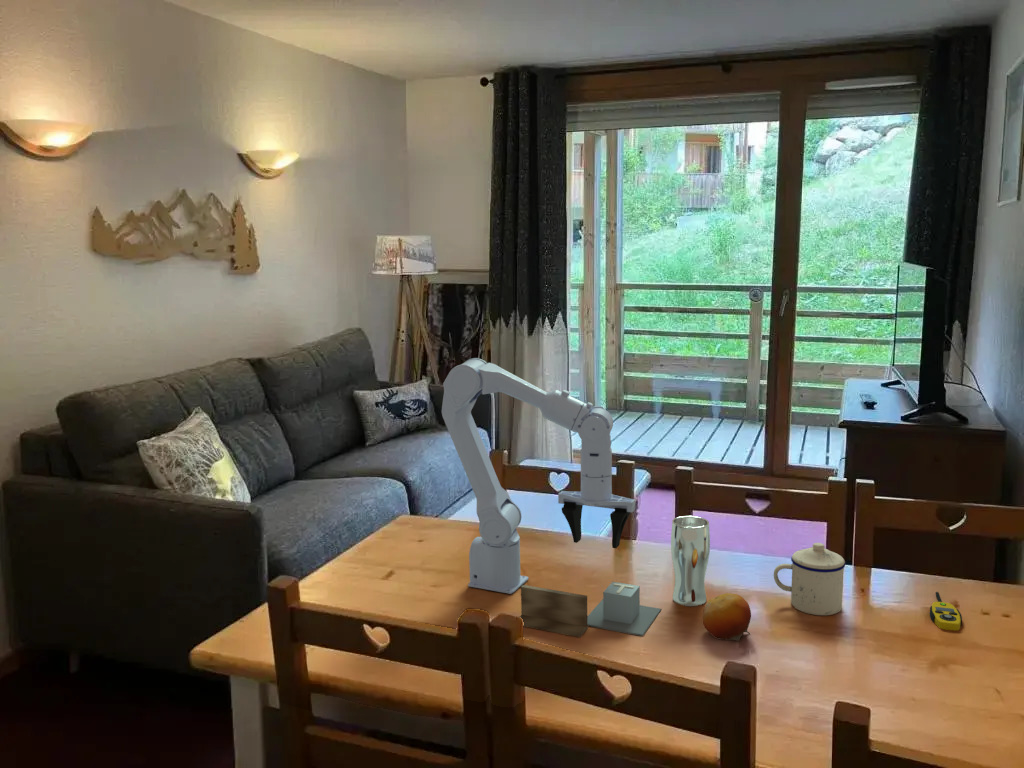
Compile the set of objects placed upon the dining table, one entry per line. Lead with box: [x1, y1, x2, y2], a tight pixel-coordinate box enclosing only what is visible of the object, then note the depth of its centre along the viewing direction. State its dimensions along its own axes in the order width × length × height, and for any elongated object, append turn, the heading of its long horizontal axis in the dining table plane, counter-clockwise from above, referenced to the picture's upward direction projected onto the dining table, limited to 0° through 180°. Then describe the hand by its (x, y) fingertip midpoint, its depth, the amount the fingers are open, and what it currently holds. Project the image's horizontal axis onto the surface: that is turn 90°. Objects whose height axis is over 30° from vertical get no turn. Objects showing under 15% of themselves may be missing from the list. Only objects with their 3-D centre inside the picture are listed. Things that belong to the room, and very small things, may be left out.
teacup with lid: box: [773, 542, 846, 616], centre depth 154 cm, size 12×9×12 cm
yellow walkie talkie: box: [929, 591, 963, 632], centre depth 151 cm, size 5×2×15 cm
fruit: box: [701, 592, 752, 642], centre depth 144 cm, size 8×8×8 cm
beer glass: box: [670, 515, 711, 607], centre depth 157 cm, size 7×7×15 cm
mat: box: [587, 598, 662, 637], centre depth 151 cm, size 11×11×1 cm
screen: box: [519, 584, 588, 638], centre depth 148 cm, size 12×4×6 cm, turn 64°
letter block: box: [602, 581, 641, 624], centre depth 151 cm, size 5×5×5 cm
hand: (596, 543), depth 161 cm, fingers open, 7 cm apart
